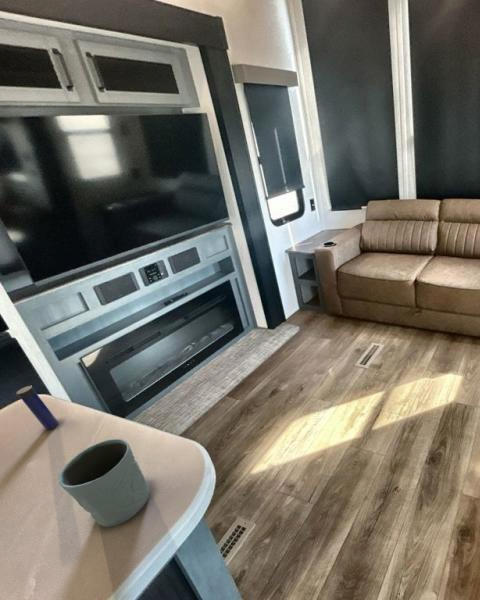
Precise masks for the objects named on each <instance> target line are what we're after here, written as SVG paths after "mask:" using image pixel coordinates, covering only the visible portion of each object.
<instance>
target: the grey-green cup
mask: <svg viewBox="0 0 480 600" xmlns="http://www.w3.org/2000/svg"><path fill="white" fill-rule="evenodd" d="M57 481H58V484H59V486H60V487H61V488H62V489H63V490H64V491H65V492H66V493H68V494H69V496H71V497H72V498H73V500H75V501H76V503H78V505H79V506H80V507H82V508H83V510H84V511H85V512H87V513H89V514H90V517H91V518H92V519H93V520H94V521H95V522H96V523H97V524H98V525H100V526H102V527H106V528H110V527H115V526H119V525H121V524H123V523H124V522H126V521H128V520H129V519H131V518H132V517H134V516H135V515H137V513H139V512H140V511H141V509H143V507H144V506H145V505H146V503H147V501H148V500H149V497H150V493H151V490H150V487H149V484H148V482H147V480H146V478H145V476H144V474H143V471H142V469H141V468H140V465H139V463H138V462H137V461H136V459H135V456H134V453H133V451H132V448H131V446H130V444H129V442H128V441H127V440H125V439H121V438H113V439H107V440H104V441H100V442H98V443H95V444H93V445H91V446H89V447H87V448H86V449H84V450H82V451H81V452H79V453H78V454H76V455H75V456H74V457H72V459H70V460H69V461H68V462H67V463H66V464H65V466H64V467H63V468H62V469H61V471H60V473H59V475H58V479H57Z"/></svg>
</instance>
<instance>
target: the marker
mask: <svg viewBox="0 0 480 600" xmlns="http://www.w3.org/2000/svg"><path fill="white" fill-rule="evenodd" d="M16 395H17V397H18V398H19V399H20V400H21V401H22V402H23V403H24V404H25V406H26V407H27V408H28V409H29V410H30V412H31V413H32V414H33V416H34V417H35V419H37V420H38V422H39V423H40V424H41V425H42V427H43V428H44V429H45V431H51V430H53V429H55V428H57V427H58V426H59V425H60V422H59V421H58V419H57V418H56V417H55V415H54V414H53V413H52V411H50V409H49V408H48V406H47V405H46V403H45V402H44V401H43V399H42V398H41V397H40V396H39V395H38V393H37V392H36V390H35V389H34V388H33V386H32V385H27V386H24V387H22V388H20V389H18V390H17V391H16Z"/></svg>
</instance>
